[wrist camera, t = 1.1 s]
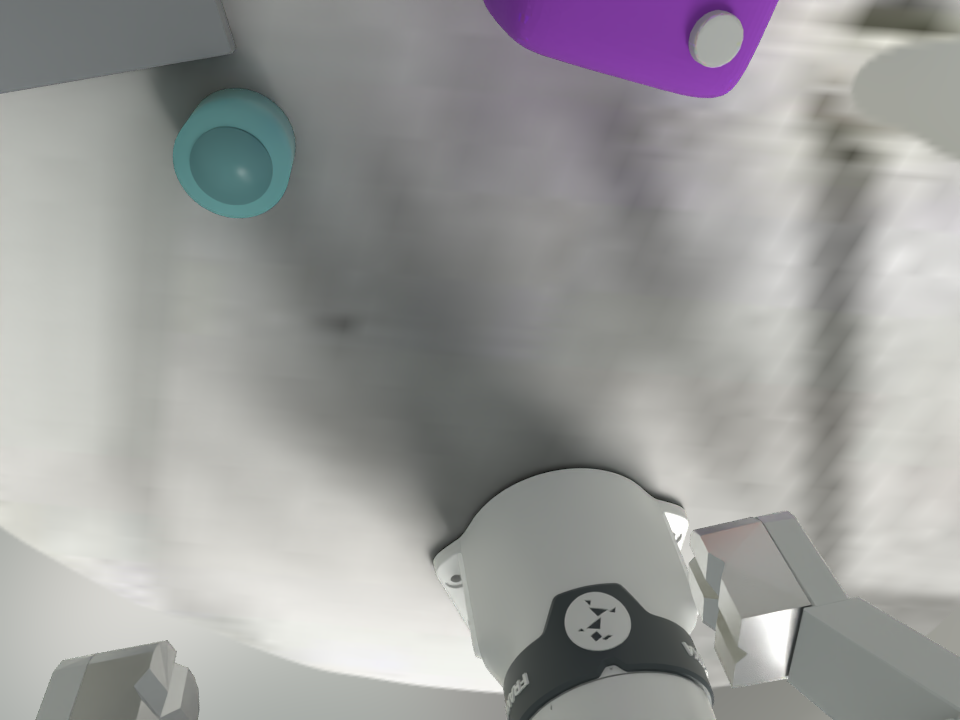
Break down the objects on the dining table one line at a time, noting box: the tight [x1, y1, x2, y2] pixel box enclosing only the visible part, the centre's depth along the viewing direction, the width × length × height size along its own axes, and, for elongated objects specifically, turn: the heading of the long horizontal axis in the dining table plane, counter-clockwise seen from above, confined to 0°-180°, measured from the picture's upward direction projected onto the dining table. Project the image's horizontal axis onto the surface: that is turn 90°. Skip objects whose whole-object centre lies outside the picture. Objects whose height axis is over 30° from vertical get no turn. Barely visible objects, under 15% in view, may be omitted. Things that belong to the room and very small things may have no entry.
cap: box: [173, 88, 296, 218], centre depth 32 cm, size 5×5×4 cm
